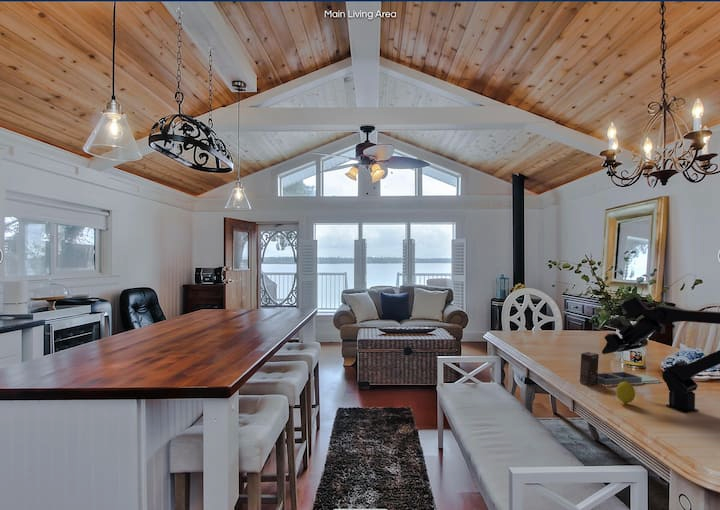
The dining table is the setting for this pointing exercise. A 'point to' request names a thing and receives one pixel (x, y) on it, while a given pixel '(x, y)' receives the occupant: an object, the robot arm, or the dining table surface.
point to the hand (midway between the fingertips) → (610, 352)
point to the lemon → (625, 392)
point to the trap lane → (624, 378)
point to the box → (589, 368)
